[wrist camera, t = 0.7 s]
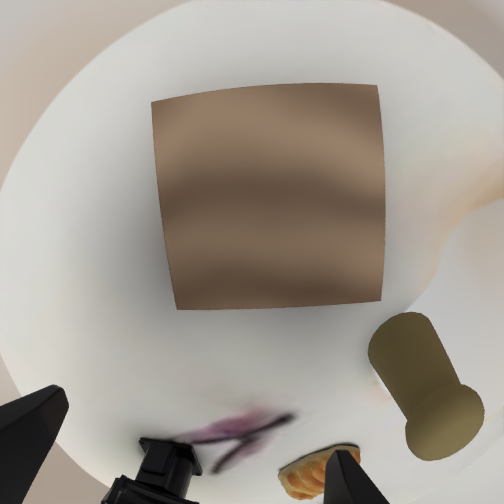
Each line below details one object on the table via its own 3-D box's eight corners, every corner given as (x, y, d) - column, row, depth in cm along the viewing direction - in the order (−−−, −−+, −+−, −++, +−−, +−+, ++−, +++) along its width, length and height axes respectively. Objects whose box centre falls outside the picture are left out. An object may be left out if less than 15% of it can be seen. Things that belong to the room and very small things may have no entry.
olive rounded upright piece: (394, 382, 22) (432, 479, 12) (353, 351, 22) (387, 463, 11) (444, 336, 21) (507, 421, 10) (408, 297, 20) (481, 390, 10)
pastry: (332, 432, 25) (336, 461, 21) (372, 448, 26) (379, 474, 22) (273, 469, 28) (272, 495, 24) (315, 483, 28) (316, 506, 25)
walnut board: (374, 291, 20) (380, 300, 19) (183, 300, 22) (176, 309, 20) (370, 90, 16) (377, 85, 15) (160, 106, 18) (151, 102, 16)
